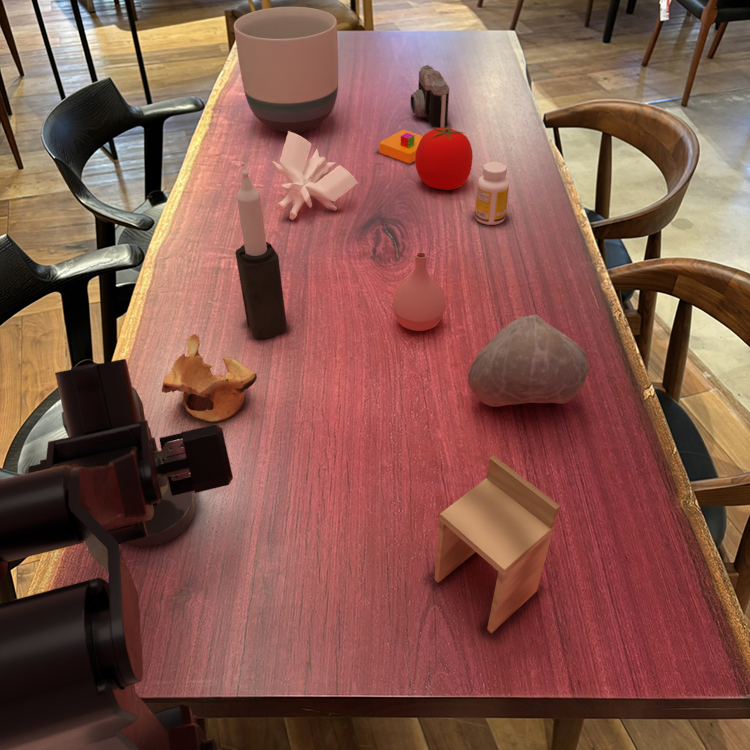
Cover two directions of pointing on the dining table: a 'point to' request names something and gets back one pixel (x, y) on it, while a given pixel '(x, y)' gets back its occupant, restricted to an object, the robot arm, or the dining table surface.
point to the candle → (258, 268)
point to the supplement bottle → (492, 194)
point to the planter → (289, 66)
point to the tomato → (444, 158)
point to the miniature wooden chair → (499, 536)
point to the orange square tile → (401, 146)
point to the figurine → (310, 176)
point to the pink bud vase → (419, 299)
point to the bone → (209, 383)
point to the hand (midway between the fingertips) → (142, 469)
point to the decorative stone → (528, 365)
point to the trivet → (168, 518)
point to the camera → (431, 97)
